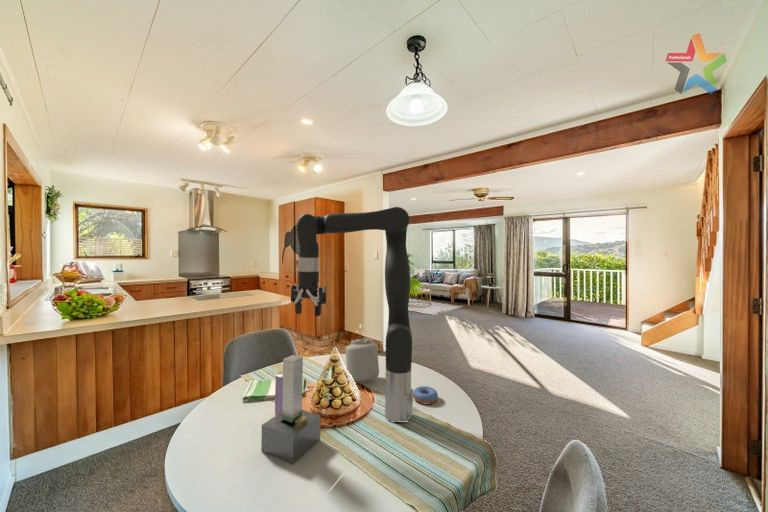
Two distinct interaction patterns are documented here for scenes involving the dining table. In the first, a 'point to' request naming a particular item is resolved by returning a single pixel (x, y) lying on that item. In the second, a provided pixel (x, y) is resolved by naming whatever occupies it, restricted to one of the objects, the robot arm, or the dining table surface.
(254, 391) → the dish towel
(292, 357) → the column
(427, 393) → the doughnut
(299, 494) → the dining table surface
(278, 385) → the beverage can
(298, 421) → the base
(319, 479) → the dining table surface
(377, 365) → the jar
